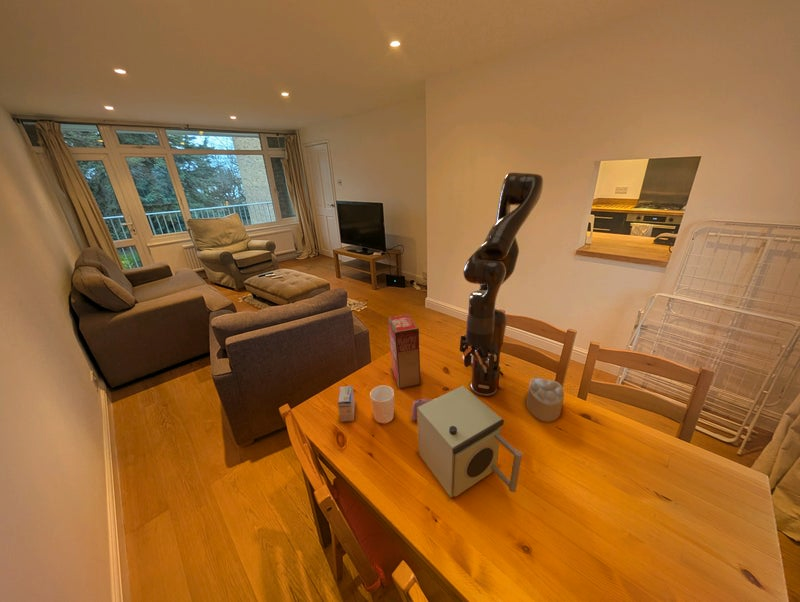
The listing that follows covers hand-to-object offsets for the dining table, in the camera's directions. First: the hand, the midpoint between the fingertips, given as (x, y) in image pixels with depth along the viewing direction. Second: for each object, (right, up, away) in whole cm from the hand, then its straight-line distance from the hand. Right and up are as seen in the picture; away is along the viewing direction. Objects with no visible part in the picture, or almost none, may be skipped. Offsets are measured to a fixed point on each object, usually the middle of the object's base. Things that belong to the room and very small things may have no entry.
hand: (476, 373), depth 90 cm
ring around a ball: (+7, -4, +36) cm, 37 cm away
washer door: (-2, -26, -17) cm, 31 cm away
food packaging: (-21, -9, +29) cm, 37 cm away
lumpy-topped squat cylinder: (+26, -14, +10) cm, 31 cm away
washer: (-7, -23, -6) cm, 25 cm away
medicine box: (-42, -17, +12) cm, 47 cm away
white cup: (-29, -17, +10) cm, 35 cm away
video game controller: (-15, -17, +9) cm, 24 cm away
